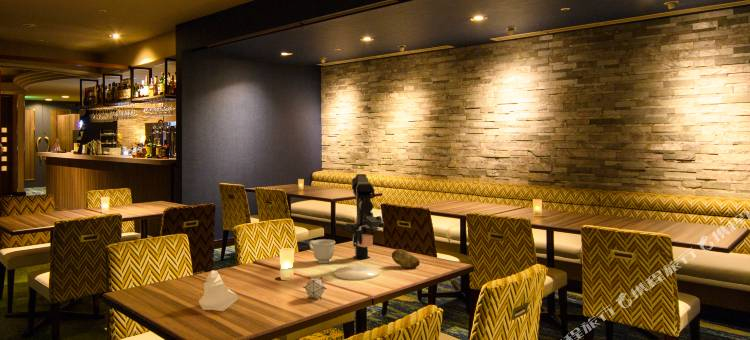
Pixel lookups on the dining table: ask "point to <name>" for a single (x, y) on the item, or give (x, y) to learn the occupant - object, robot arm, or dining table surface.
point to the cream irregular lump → (216, 294)
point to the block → (366, 240)
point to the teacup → (322, 249)
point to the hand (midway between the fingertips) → (365, 243)
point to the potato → (405, 259)
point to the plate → (356, 272)
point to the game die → (314, 288)
